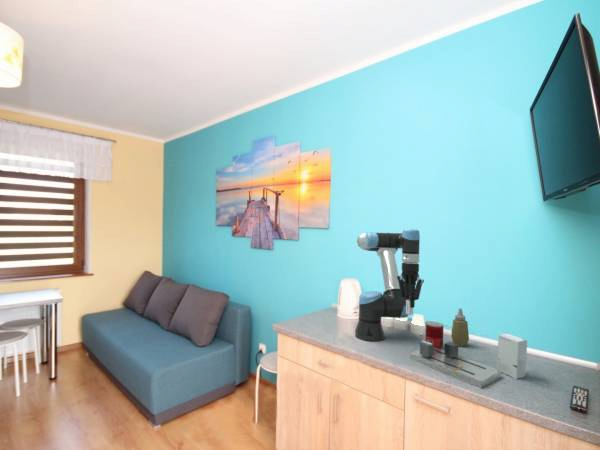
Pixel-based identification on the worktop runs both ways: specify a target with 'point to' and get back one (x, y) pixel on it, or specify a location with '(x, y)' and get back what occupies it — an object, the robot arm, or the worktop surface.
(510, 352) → the skincare box
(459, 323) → the squeeze bottle
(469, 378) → the console
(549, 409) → the worktop surface
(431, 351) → the fader
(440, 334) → the canned food
